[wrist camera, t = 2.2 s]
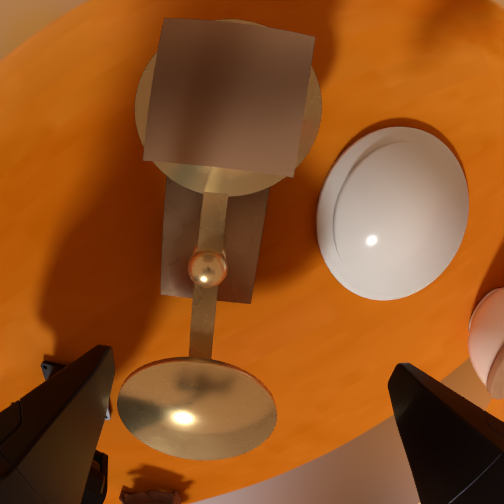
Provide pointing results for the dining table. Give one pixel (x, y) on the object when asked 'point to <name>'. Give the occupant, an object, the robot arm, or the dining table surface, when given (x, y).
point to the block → (228, 96)
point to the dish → (392, 213)
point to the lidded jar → (488, 341)
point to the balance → (207, 302)
